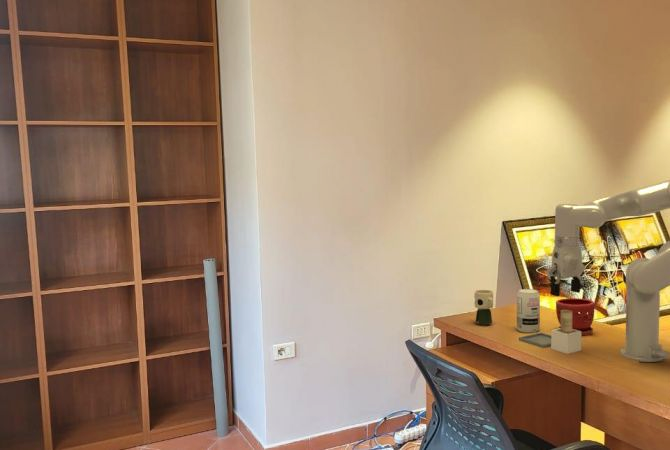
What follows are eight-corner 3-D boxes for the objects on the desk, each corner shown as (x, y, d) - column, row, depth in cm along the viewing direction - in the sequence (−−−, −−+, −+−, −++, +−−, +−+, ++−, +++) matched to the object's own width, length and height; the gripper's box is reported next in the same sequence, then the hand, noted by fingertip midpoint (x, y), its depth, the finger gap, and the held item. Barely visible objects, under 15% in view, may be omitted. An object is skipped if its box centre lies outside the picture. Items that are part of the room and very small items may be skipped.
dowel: (574, 350, 208) (574, 311, 207) (566, 351, 206) (567, 313, 205) (565, 347, 211) (565, 309, 210) (557, 349, 209) (558, 310, 208)
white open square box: (581, 352, 208) (581, 331, 207) (567, 355, 204) (567, 334, 204) (564, 347, 213) (565, 327, 213) (551, 350, 210) (551, 330, 209)
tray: (566, 344, 217) (566, 339, 217) (543, 349, 211) (543, 344, 211) (541, 336, 226) (541, 332, 226) (518, 341, 221) (518, 337, 221)
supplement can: (523, 326, 241) (523, 287, 239) (543, 330, 235) (543, 290, 233) (512, 330, 235) (512, 291, 233) (532, 334, 229) (533, 294, 228)
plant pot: (596, 330, 232) (597, 298, 231) (590, 339, 221) (591, 306, 220) (559, 326, 239) (559, 295, 238) (552, 335, 228) (552, 302, 226)
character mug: (468, 322, 249) (468, 289, 248) (483, 319, 252) (483, 287, 250) (484, 328, 239) (484, 294, 238) (500, 326, 241) (500, 293, 240)
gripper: (557, 245, 198) (556, 299, 199) (594, 241, 206) (592, 292, 208) (539, 242, 204) (537, 294, 206) (575, 238, 213) (573, 288, 214)
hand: (565, 293), depth 207 cm, fingers open, 9 cm apart
